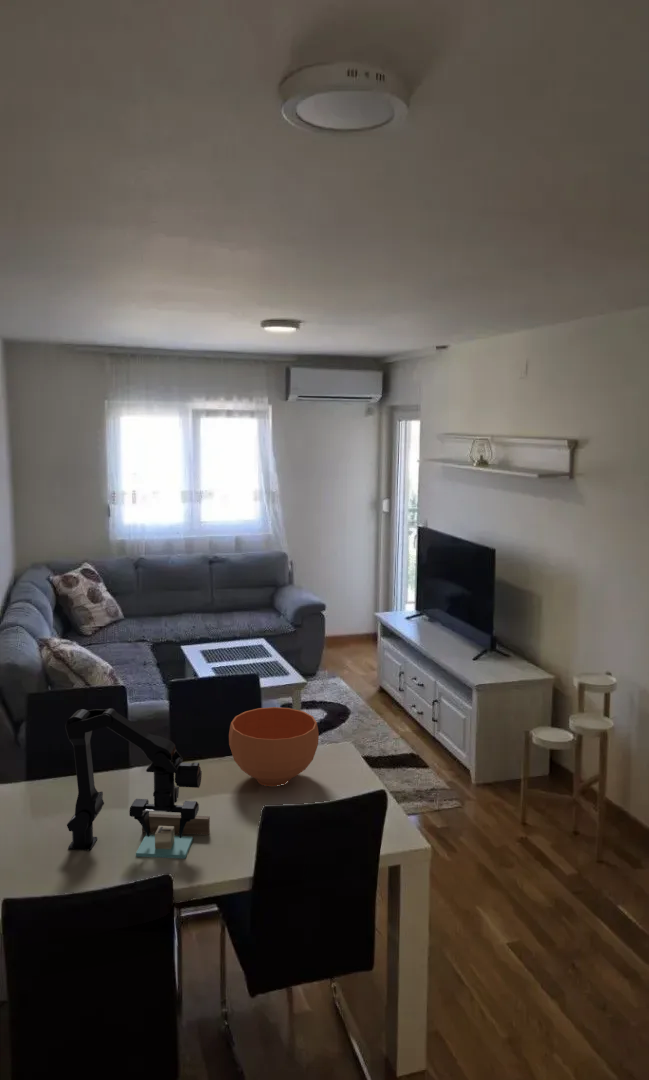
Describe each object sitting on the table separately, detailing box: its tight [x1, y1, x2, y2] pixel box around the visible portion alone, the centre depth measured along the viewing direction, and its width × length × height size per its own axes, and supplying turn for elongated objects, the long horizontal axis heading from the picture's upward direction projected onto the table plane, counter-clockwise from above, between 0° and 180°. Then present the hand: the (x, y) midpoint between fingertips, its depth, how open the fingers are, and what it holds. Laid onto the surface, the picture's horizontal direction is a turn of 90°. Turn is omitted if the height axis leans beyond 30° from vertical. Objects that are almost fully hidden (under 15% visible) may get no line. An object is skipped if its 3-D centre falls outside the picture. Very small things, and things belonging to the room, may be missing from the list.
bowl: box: [228, 706, 320, 787], centre depth 268 cm, size 30×30×20 cm
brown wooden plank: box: [141, 813, 211, 836], centre depth 234 cm, size 2×20×5 cm, turn 87°
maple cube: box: [154, 826, 175, 849], centre depth 225 cm, size 4×4×5 cm
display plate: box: [135, 834, 194, 859], centre depth 225 cm, size 10×14×1 cm
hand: (164, 836), depth 225 cm, fingers open, 9 cm apart
